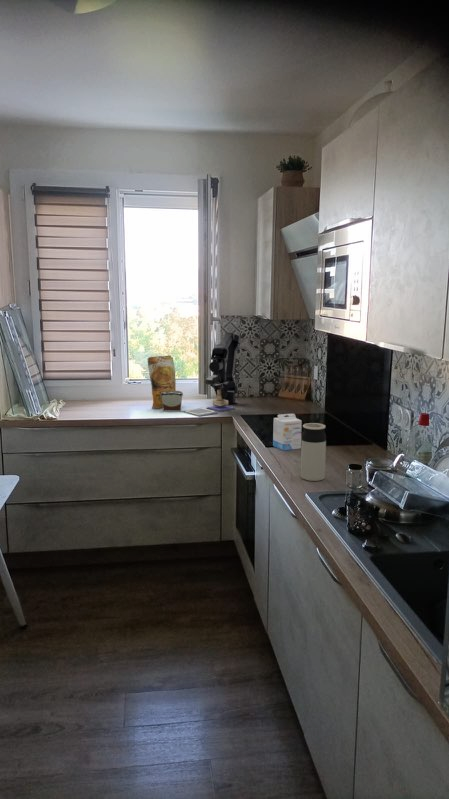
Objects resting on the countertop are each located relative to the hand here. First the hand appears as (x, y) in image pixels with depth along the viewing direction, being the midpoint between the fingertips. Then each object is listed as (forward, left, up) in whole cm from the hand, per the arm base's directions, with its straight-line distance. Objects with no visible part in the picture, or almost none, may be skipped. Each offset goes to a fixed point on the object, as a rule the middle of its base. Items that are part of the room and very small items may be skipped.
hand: (220, 398), depth 295 cm
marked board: (+14, 0, -6) cm, 15 cm away
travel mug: (+49, +108, -6) cm, 119 cm away
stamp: (0, 0, -4) cm, 4 cm away
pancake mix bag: (+19, -27, -6) cm, 34 cm away
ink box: (+28, +76, -6) cm, 81 cm away
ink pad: (0, 0, -6) cm, 6 cm away
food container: (+20, -16, -6) cm, 26 cm away
